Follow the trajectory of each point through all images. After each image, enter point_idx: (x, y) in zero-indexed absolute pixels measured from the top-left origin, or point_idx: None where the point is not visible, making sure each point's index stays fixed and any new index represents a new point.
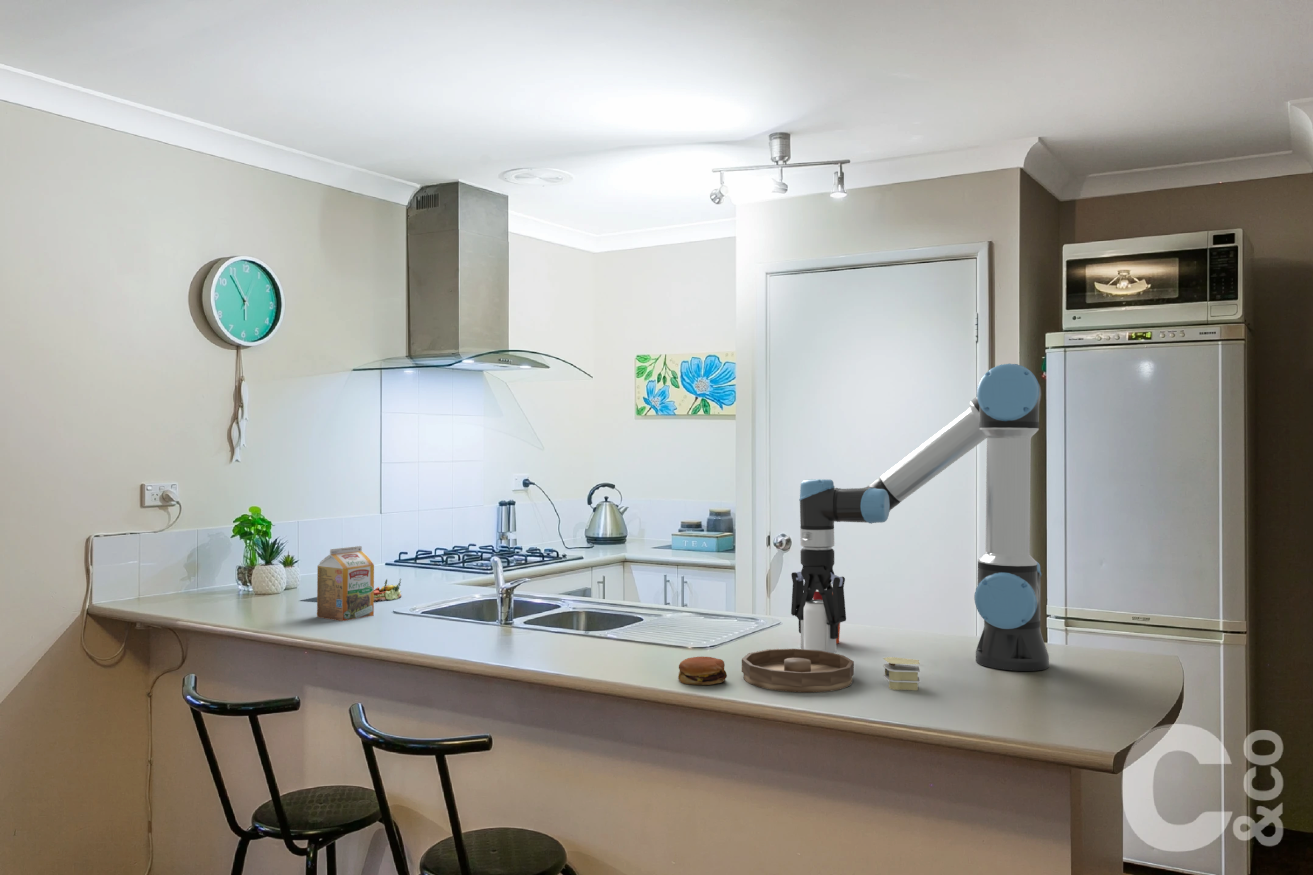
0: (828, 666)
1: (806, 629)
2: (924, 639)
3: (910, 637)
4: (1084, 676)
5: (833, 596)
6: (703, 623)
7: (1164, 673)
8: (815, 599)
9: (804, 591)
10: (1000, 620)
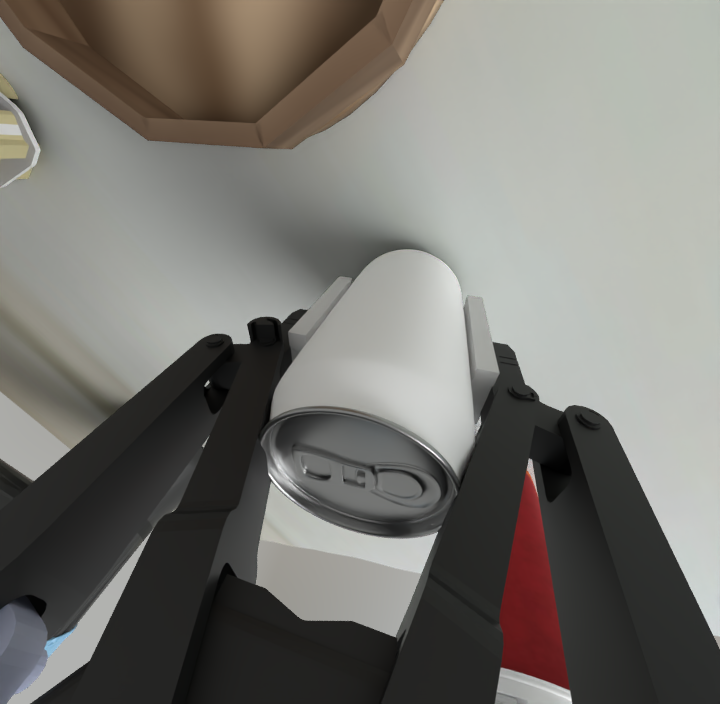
0: (227, 106)
1: (419, 293)
2: (349, 531)
3: (374, 538)
4: (87, 423)
5: (101, 464)
6: None
7: None
8: (560, 633)
9: (481, 606)
10: None
